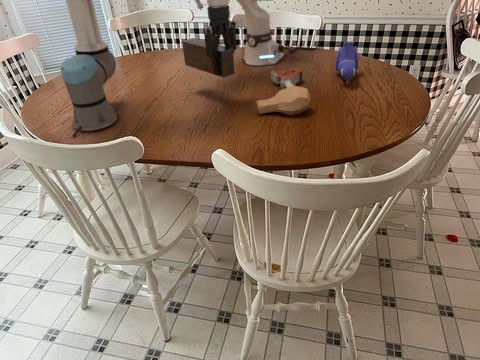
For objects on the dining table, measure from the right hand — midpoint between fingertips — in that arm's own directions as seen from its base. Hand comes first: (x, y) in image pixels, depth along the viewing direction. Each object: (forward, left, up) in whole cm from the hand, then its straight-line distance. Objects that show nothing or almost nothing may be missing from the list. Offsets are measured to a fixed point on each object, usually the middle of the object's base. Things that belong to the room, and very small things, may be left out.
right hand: (209, 6), depth 141 cm
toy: (-31, +47, -31) cm, 65 cm away
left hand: (+15, +17, -19) cm, 29 cm away
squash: (+11, +41, -31) cm, 53 cm away
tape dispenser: (-11, +30, -31) cm, 45 cm away
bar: (+13, +8, -20) cm, 25 cm away
